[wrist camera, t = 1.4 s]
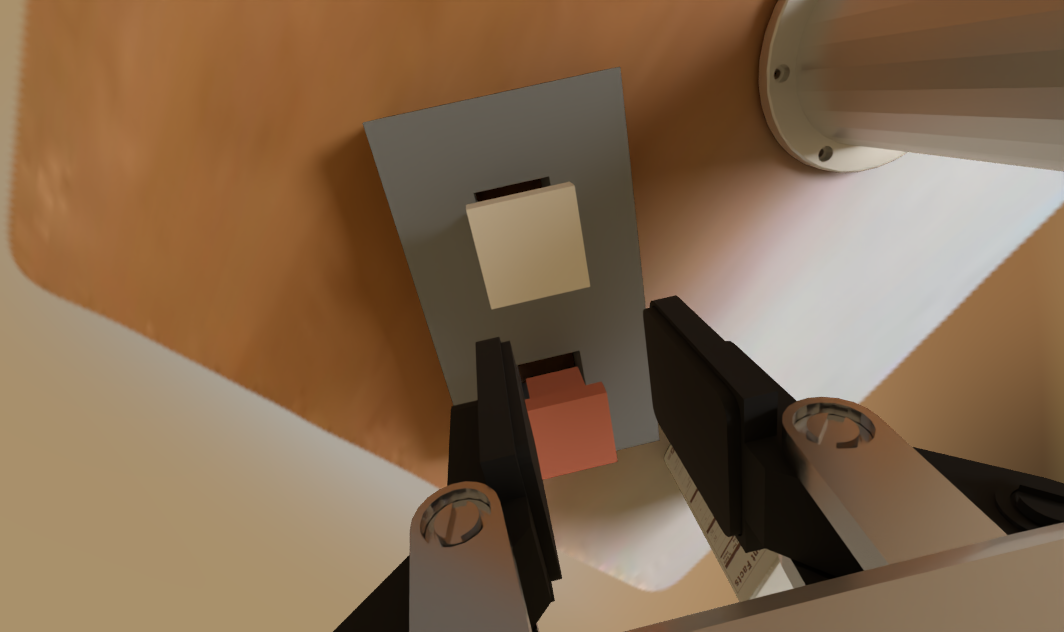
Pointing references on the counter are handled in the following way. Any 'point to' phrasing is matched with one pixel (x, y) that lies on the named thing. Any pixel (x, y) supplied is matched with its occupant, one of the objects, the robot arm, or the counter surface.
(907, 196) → the counter surface
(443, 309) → the plug panel
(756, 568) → the supplement box
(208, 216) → the counter surface
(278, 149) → the counter surface
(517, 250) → the ivory plug
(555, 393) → the red plug
